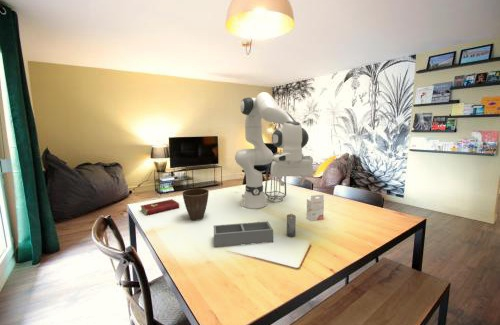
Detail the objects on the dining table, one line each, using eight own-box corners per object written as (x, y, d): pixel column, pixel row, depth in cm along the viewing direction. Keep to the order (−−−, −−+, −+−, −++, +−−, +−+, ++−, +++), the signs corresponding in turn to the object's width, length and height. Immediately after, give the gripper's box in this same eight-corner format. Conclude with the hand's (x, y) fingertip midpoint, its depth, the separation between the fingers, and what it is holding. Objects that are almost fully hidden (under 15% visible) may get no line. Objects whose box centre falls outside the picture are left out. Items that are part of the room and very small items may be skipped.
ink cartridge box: (318, 216, 140) (319, 192, 138) (323, 219, 135) (324, 194, 133) (305, 217, 138) (306, 193, 136) (310, 221, 133) (311, 195, 131)
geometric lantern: (261, 198, 176) (261, 152, 171) (279, 196, 182) (280, 151, 178) (271, 204, 161) (272, 154, 157) (290, 202, 168) (292, 153, 164)
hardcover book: (179, 208, 156) (179, 202, 156) (146, 216, 143) (146, 210, 142) (172, 204, 165) (171, 198, 165) (140, 211, 152) (140, 205, 151)
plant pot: (203, 223, 130) (202, 196, 128) (178, 222, 133) (177, 194, 130) (213, 214, 144) (212, 189, 142) (190, 212, 147) (189, 188, 145)
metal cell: (285, 233, 117) (285, 213, 116) (293, 232, 118) (294, 212, 116) (288, 237, 113) (288, 216, 111) (296, 236, 114) (297, 215, 112)
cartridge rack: (213, 237, 114) (213, 225, 113) (267, 232, 118) (267, 221, 118) (214, 247, 104) (214, 234, 103) (273, 241, 109) (273, 229, 108)
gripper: (310, 154, 115) (309, 182, 116) (269, 156, 111) (269, 184, 113) (315, 156, 108) (315, 185, 110) (273, 157, 105) (273, 187, 107)
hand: (291, 185), depth 112 cm, fingers open, 8 cm apart
